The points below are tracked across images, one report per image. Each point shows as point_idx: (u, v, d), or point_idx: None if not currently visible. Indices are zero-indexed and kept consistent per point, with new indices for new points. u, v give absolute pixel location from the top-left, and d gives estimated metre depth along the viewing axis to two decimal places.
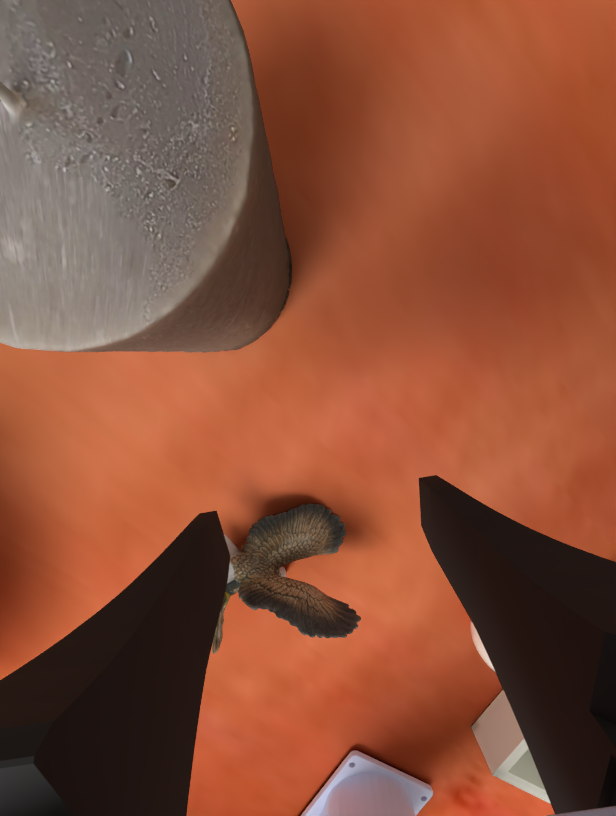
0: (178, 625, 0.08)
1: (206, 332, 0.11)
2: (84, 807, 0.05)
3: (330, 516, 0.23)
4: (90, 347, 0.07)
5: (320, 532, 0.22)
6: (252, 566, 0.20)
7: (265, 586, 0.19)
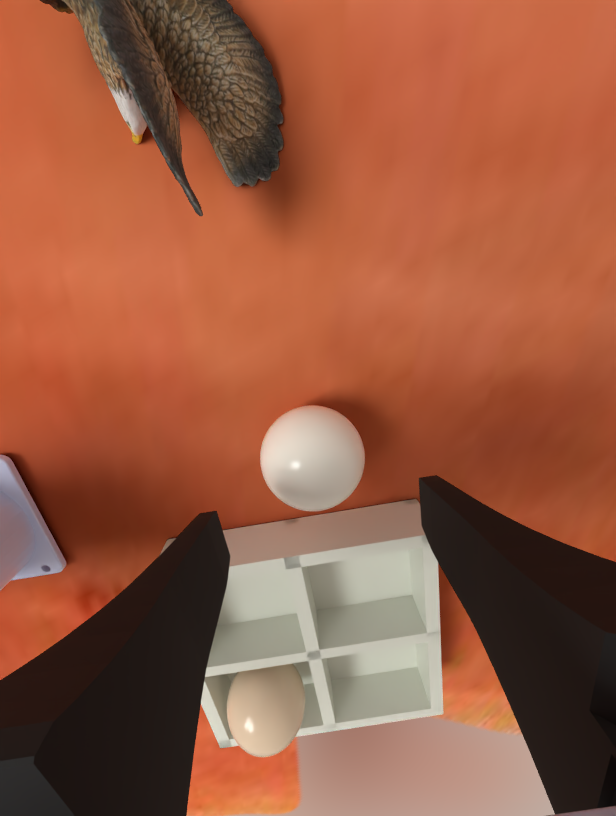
0: (178, 625, 0.08)
1: None
2: (84, 807, 0.05)
3: (276, 125, 0.13)
4: None
5: (248, 108, 0.12)
6: None
7: None
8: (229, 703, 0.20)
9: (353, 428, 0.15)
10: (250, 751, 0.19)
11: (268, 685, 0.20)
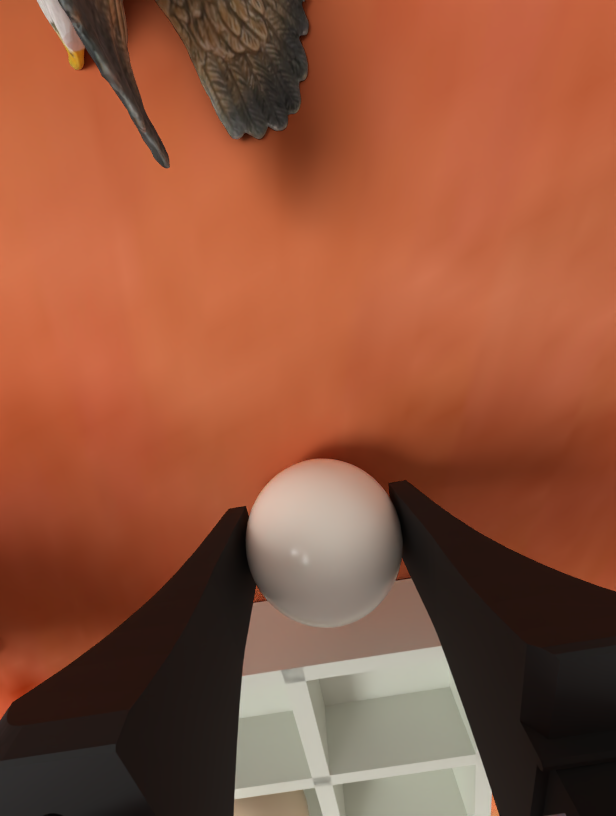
0: (220, 619, 0.08)
1: None
2: (156, 797, 0.05)
3: (296, 36, 0.08)
4: None
5: None
6: None
7: None
8: None
9: (386, 499, 0.10)
10: None
11: None
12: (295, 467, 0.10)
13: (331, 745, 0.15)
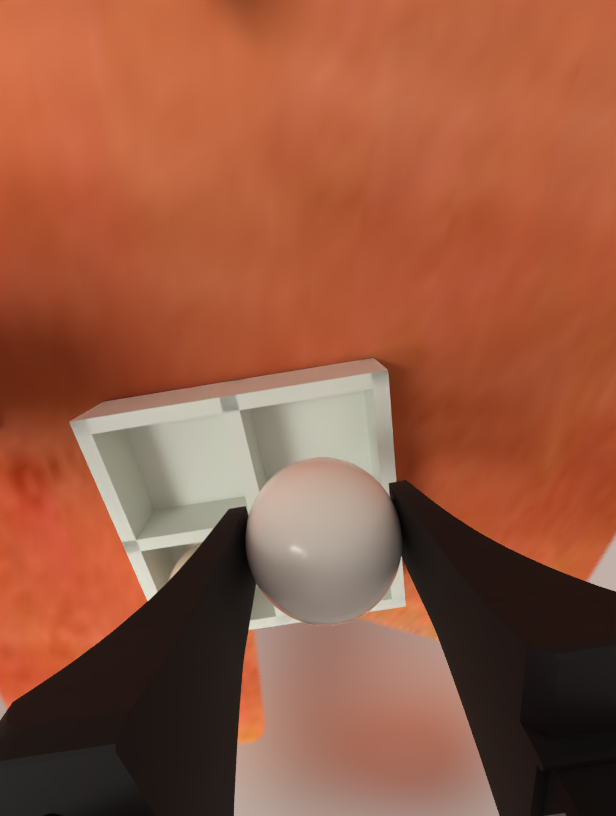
0: (220, 619, 0.08)
1: None
2: (155, 797, 0.05)
3: None
4: None
5: None
6: None
7: None
8: None
9: (386, 498, 0.10)
10: None
11: None
12: (295, 465, 0.10)
13: None
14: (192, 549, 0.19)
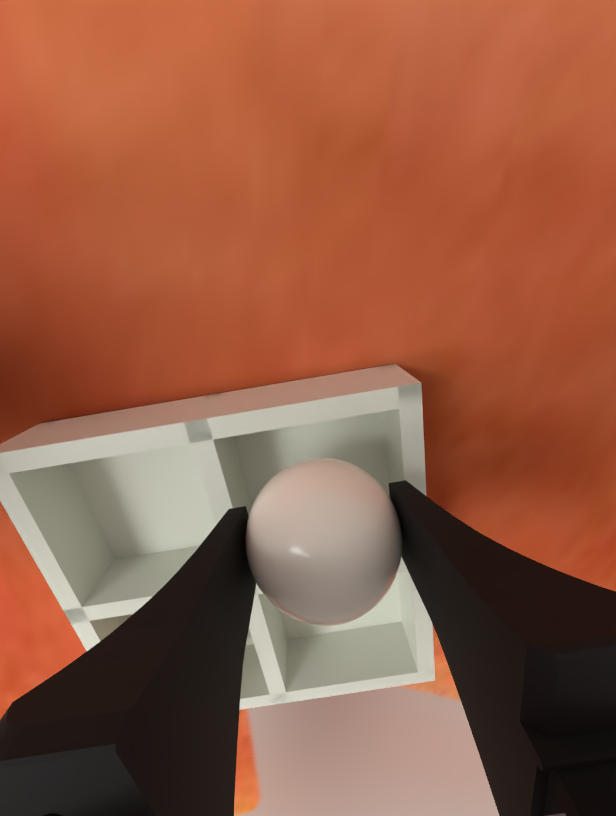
0: (220, 619, 0.08)
1: None
2: (155, 797, 0.05)
3: None
4: None
5: None
6: None
7: None
8: None
9: (386, 498, 0.10)
10: None
11: None
12: (295, 466, 0.10)
13: None
14: None
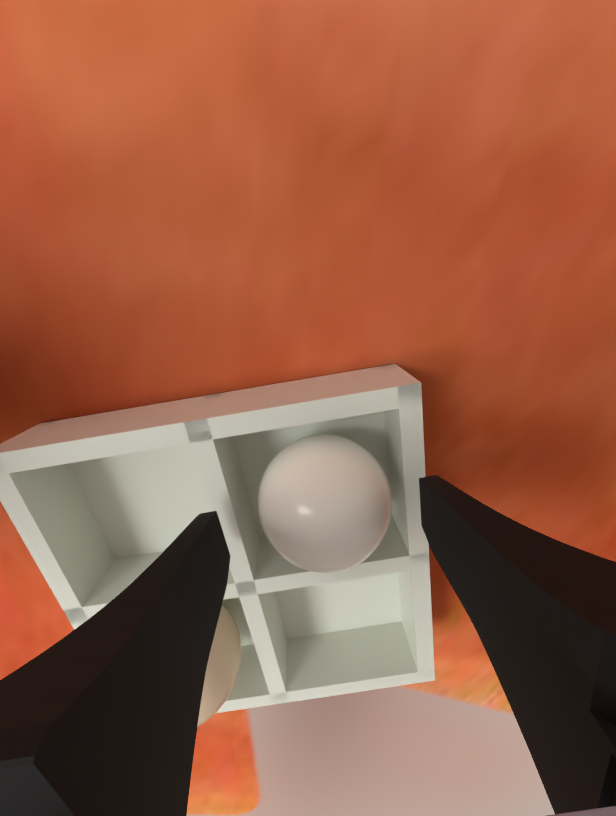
0: (178, 625, 0.08)
1: None
2: (84, 807, 0.05)
3: None
4: None
5: None
6: None
7: None
8: None
9: (377, 463, 0.12)
10: None
11: None
12: (299, 440, 0.12)
13: (260, 560, 0.14)
14: None
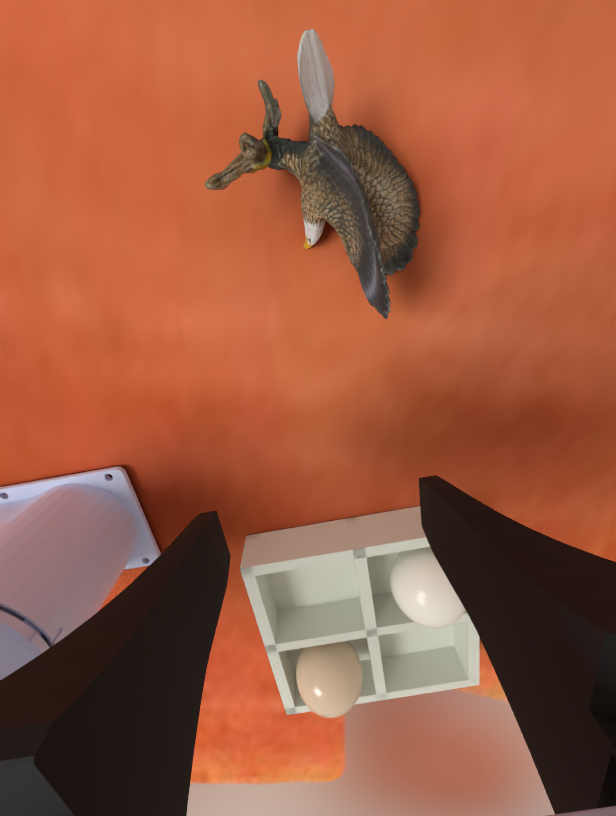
0: (178, 625, 0.08)
1: None
2: (84, 807, 0.05)
3: (414, 231, 0.17)
4: None
5: (401, 226, 0.16)
6: (340, 143, 0.13)
7: None
8: (300, 673, 0.24)
9: None
10: (321, 712, 0.23)
11: (333, 658, 0.24)
12: (415, 554, 0.22)
13: (376, 614, 0.24)
14: (314, 646, 0.25)
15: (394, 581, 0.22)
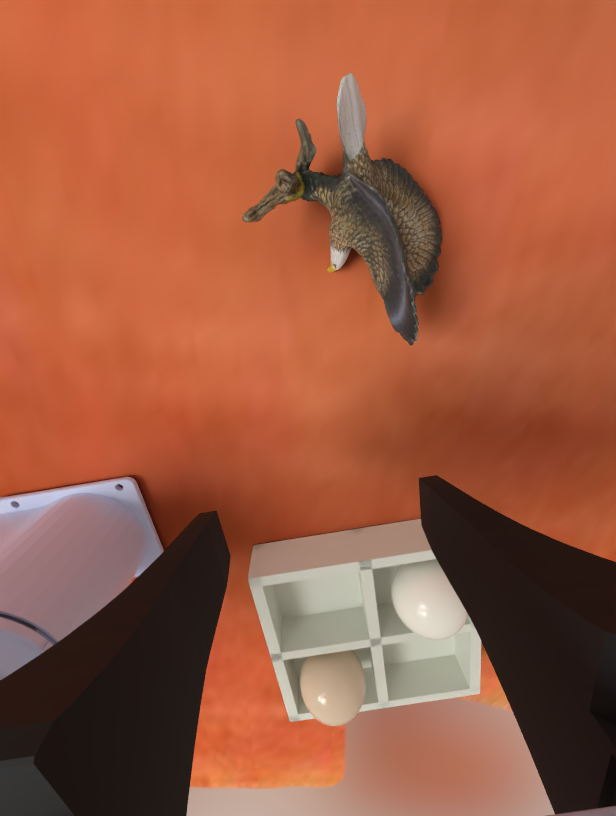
0: (178, 625, 0.08)
1: None
2: (84, 807, 0.05)
3: (435, 257, 0.18)
4: None
5: (424, 253, 0.17)
6: (372, 179, 0.14)
7: None
8: (304, 682, 0.24)
9: None
10: (325, 720, 0.23)
11: (338, 667, 0.24)
12: (416, 565, 0.22)
13: (379, 623, 0.25)
14: (318, 655, 0.25)
15: (394, 590, 0.22)
